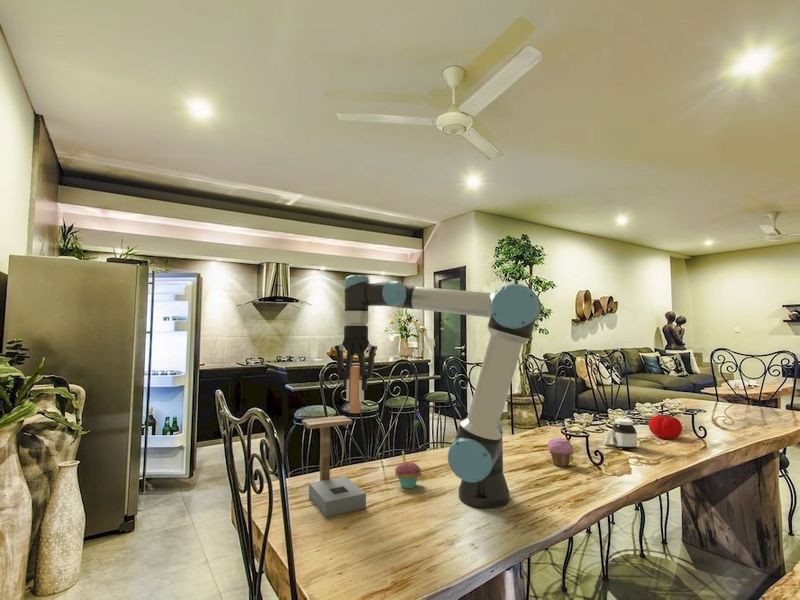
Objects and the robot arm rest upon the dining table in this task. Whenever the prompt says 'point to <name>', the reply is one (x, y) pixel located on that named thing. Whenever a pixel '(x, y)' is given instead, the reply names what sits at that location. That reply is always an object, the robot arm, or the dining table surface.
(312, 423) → the wooden t-shaped stand
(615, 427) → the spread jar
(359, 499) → the socket block
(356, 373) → the peg
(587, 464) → the dining table surface
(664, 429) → the tomato
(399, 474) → the cupcake
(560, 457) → the cupcake
